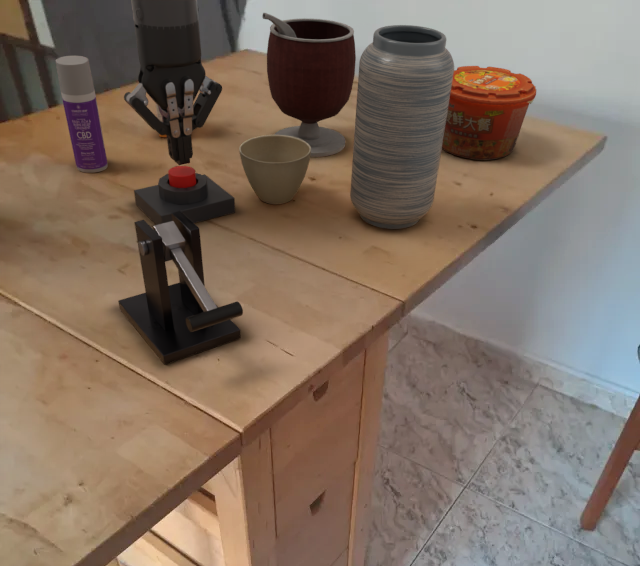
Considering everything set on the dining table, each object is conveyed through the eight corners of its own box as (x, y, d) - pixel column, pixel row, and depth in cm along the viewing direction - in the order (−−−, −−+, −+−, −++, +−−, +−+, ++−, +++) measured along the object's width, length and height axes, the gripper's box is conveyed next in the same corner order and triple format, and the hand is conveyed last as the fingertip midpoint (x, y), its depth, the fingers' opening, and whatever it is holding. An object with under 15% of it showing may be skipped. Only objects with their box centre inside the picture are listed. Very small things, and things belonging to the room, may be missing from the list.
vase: (344, 230, 94) (357, 43, 78) (353, 193, 102) (366, 18, 86) (429, 238, 93) (459, 51, 77) (431, 201, 101) (458, 25, 85)
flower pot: (259, 177, 105) (257, 129, 100) (319, 190, 102) (321, 141, 98) (229, 204, 98) (226, 154, 93) (293, 218, 96) (294, 167, 91)
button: (176, 191, 92) (175, 178, 91) (165, 181, 94) (163, 168, 93) (200, 185, 94) (199, 173, 92) (189, 176, 96) (187, 163, 95)
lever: (241, 321, 68) (244, 306, 66) (191, 338, 66) (193, 323, 64) (186, 233, 72) (188, 216, 70) (137, 246, 70) (137, 229, 67)
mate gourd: (319, 122, 123) (324, -7, 109) (366, 149, 115) (377, 12, 101) (244, 138, 116) (239, 2, 103) (288, 167, 108) (289, 24, 94)
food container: (438, 123, 125) (448, 59, 117) (527, 137, 121) (543, 72, 114) (418, 155, 114) (428, 85, 106) (515, 171, 110) (532, 101, 103)
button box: (163, 231, 91) (159, 202, 89) (135, 205, 97) (131, 177, 94) (235, 212, 96) (234, 185, 93) (205, 188, 101) (203, 161, 99)
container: (83, 175, 103) (61, 67, 93) (71, 164, 106) (49, 58, 96) (113, 168, 105) (94, 62, 95) (100, 158, 108) (81, 53, 98)
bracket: (241, 338, 75) (236, 239, 66) (164, 365, 71) (149, 263, 63) (191, 287, 82) (181, 192, 74) (119, 309, 78) (100, 211, 70)
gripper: (202, 2, 85) (212, 143, 97) (99, 14, 80) (123, 162, 91) (231, 16, 81) (238, 162, 93) (124, 29, 75) (147, 183, 87)
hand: (181, 162), depth 92 cm, fingers closed
